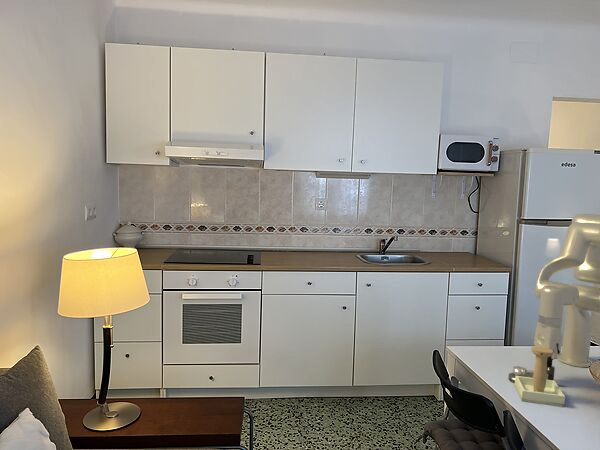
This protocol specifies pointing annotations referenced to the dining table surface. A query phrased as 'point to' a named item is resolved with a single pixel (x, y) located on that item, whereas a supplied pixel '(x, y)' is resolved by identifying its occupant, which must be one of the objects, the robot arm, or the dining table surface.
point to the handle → (540, 368)
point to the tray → (549, 396)
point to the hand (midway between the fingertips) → (546, 369)
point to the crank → (532, 372)
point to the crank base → (512, 379)
